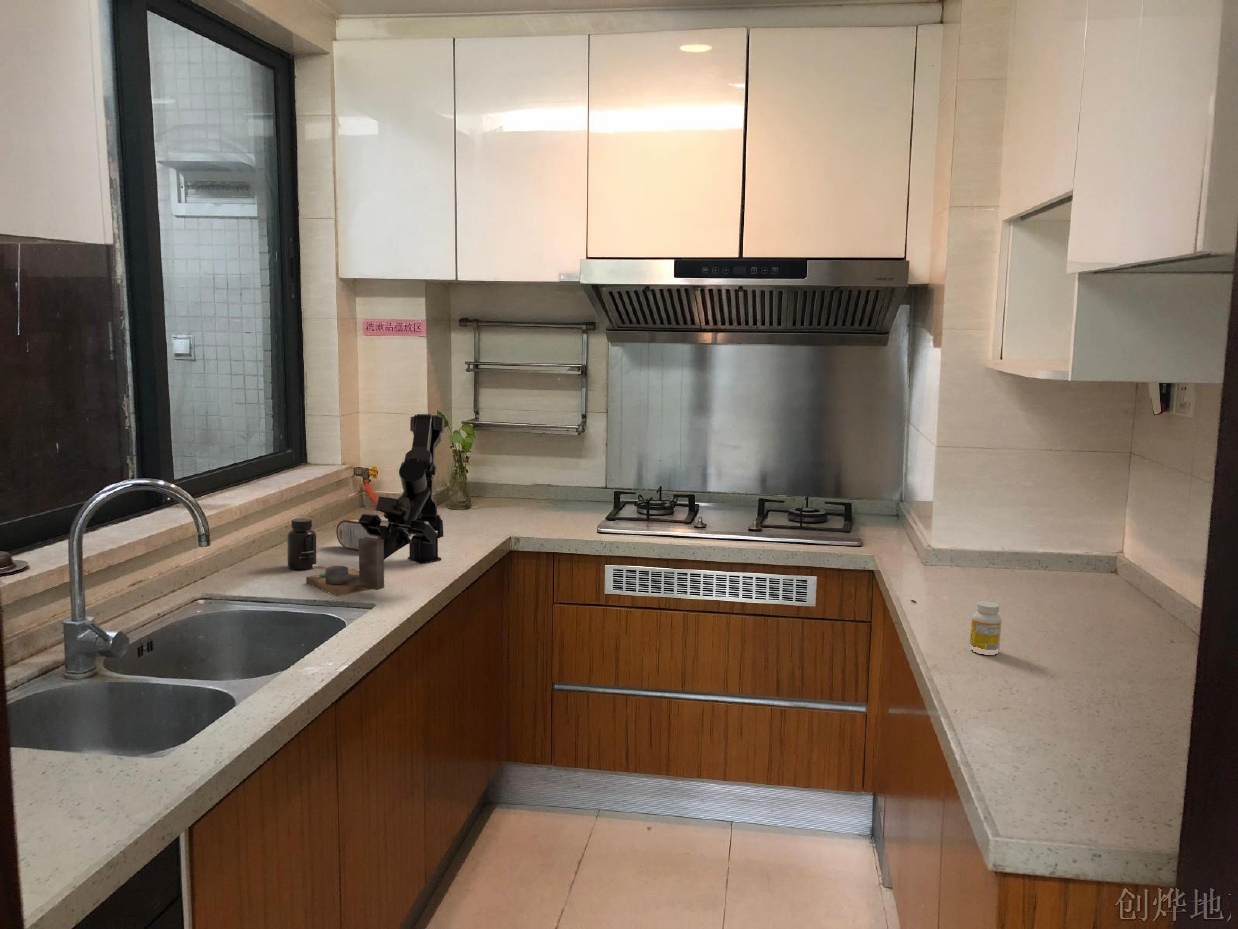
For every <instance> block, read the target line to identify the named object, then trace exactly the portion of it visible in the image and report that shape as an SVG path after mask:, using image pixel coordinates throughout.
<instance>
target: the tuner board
mask: <svg viewBox="0 0 1238 929" xmlns="http://www.w3.org/2000/svg"><path fill="white" fill-rule="evenodd" d="M348 574H354V575H359V569H355V568H348ZM305 583H306V584H307V585H309V584H310V585H309V586H312V585H313V586H312V587H314V586H315V588H316V587H317V588H316V589H319V590H321V589H323V590H324V591H323V590H322V591H323V592H325V591H326V592H325V593H328V592H329V593H328V594H330V593H331V595H333V596H335V597H339V596H343V595H349V594H354V593H357V592H363V591H369V590H370V589H367V588H362V587H359V585H358V584H352V583H343V584H328V583H326V578H325V573H319V574H315V575H309V576H308V575H307V576H305Z"/></svg>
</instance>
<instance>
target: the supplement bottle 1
mask: <svg viewBox="0 0 1238 929" xmlns="http://www.w3.org/2000/svg"><path fill="white" fill-rule="evenodd" d="M290 525H291V526H290V527H291V530H289V531H288V533H287V535H286V536H287V538H286V539H287V540H286V542H287V544H286V545H287V551H286V553H287V568H288V569H290V570H292V571H307V570H312V569H313V568H312V565H314V564H315V565H317V533H316V531H315V530H313V529H312V528H313V520H312V518H308V517H307V518H305V517H304V518H301V517H300V518H293V519H291V524H290Z"/></svg>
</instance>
